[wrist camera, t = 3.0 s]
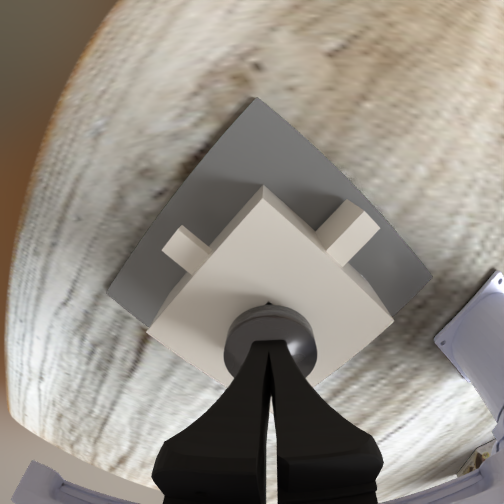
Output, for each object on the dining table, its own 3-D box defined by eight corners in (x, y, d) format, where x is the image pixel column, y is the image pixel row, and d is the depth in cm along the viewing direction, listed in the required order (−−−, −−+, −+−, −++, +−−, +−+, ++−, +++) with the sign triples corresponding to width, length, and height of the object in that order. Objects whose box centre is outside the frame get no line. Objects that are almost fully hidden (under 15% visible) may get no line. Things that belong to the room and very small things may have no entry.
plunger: (317, 294, 17) (336, 354, 12) (271, 336, 18) (272, 401, 13) (267, 251, 17) (267, 301, 11) (221, 299, 18) (205, 359, 12)
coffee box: (474, 448, 27) (507, 523, 12) (503, 434, 27) (537, 502, 12) (454, 475, 30) (478, 542, 15) (482, 462, 30) (508, 524, 15)
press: (429, 274, 18) (467, 309, 13) (274, 405, 23) (275, 453, 18) (257, 98, 15) (254, 78, 10) (108, 289, 20) (73, 327, 15)
